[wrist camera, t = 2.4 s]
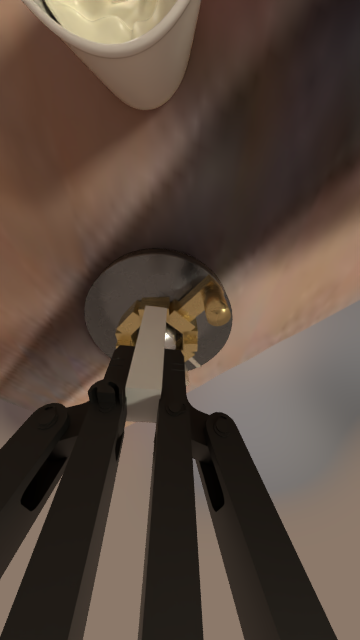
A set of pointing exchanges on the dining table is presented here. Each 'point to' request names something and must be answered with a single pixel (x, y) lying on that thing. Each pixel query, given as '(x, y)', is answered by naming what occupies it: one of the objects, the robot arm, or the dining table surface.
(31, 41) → the dining table surface
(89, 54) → the candle holder
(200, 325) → the bearing cap
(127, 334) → the brass lugged wrench
